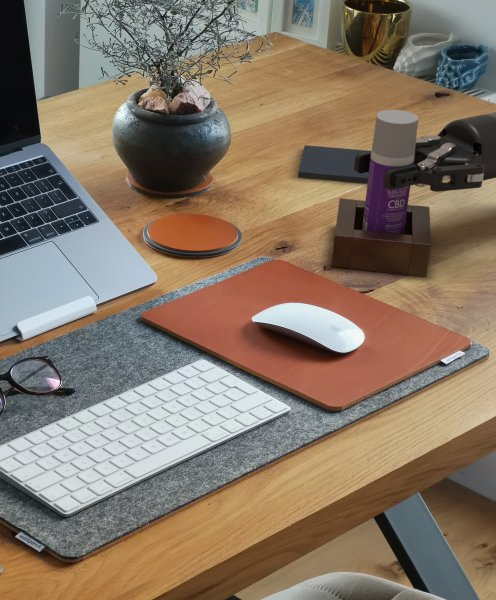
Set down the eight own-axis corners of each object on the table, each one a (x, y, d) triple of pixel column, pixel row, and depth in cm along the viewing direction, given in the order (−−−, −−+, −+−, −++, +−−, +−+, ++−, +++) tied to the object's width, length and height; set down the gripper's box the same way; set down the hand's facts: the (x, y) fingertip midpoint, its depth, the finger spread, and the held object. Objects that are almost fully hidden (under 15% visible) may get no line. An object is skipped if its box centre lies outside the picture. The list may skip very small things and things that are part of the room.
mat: (376, 156, 155) (377, 151, 154) (374, 184, 146) (375, 178, 146) (303, 150, 157) (304, 145, 157) (298, 177, 148) (298, 171, 148)
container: (386, 253, 125) (402, 127, 118) (352, 239, 129) (366, 116, 121) (410, 241, 128) (428, 116, 121) (377, 228, 131) (392, 106, 124)
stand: (424, 237, 133) (429, 206, 131) (425, 277, 124) (431, 244, 122) (336, 228, 135) (339, 198, 133) (331, 266, 126) (334, 235, 124)
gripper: (451, 97, 133) (335, 120, 127) (541, 135, 122) (419, 162, 115) (442, 156, 137) (329, 181, 130) (529, 197, 126) (410, 227, 119)
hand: (372, 172), depth 123 cm, fingers closed on container, 4 cm apart
